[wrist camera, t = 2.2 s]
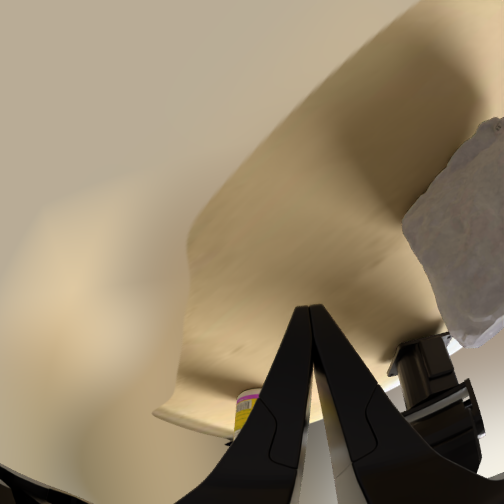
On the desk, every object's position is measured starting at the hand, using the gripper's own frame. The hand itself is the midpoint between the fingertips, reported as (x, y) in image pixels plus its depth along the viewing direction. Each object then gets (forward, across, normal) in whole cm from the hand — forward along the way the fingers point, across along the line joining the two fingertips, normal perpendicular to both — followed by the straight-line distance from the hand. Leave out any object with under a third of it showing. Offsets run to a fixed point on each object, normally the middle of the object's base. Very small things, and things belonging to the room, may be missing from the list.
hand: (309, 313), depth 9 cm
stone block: (+9, -11, 0) cm, 15 cm away
